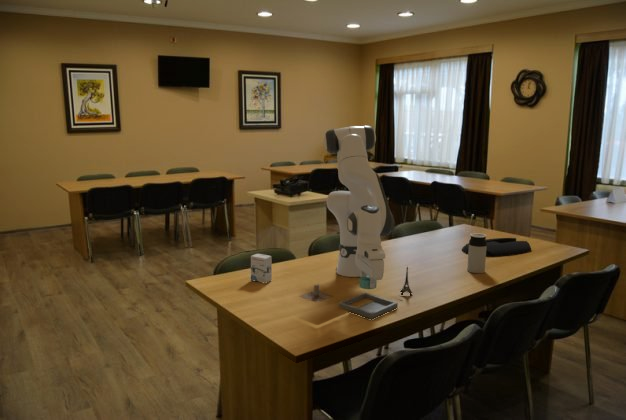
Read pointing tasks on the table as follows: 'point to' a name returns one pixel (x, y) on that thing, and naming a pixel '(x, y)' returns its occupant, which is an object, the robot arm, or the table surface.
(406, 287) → the eiffel tower figurine
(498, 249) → the black folded towel
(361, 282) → the ring
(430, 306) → the table surface
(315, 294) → the post stand
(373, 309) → the tray
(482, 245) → the travel mug
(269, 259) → the ink box
